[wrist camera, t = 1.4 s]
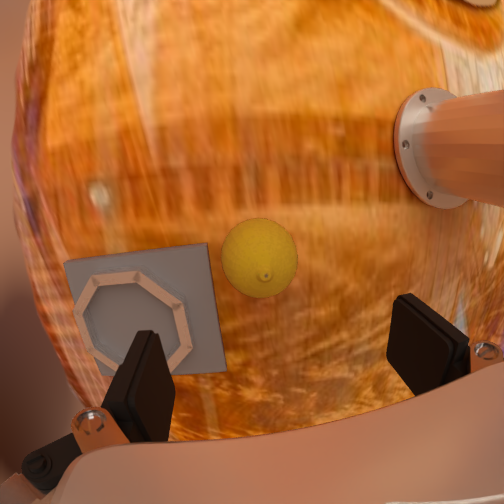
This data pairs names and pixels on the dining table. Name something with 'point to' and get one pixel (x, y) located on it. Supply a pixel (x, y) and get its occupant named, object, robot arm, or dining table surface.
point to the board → (155, 304)
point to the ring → (152, 285)
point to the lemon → (259, 258)
